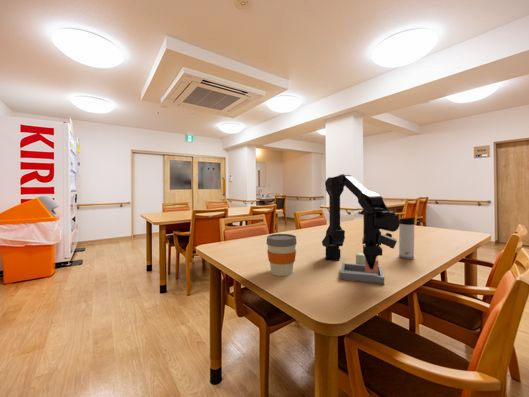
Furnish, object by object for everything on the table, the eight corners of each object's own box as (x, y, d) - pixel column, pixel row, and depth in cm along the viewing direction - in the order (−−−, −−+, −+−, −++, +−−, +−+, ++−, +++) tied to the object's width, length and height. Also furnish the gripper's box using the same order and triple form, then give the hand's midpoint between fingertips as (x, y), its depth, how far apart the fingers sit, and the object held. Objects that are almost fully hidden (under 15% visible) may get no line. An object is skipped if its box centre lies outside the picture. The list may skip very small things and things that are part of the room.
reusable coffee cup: (262, 269, 102) (261, 235, 102) (287, 265, 107) (287, 232, 107) (274, 279, 91) (274, 241, 90) (302, 274, 96) (302, 238, 95)
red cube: (365, 272, 91) (365, 259, 90) (365, 268, 95) (365, 256, 95) (378, 273, 89) (378, 260, 89) (377, 269, 93) (377, 257, 93)
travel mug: (409, 260, 112) (410, 218, 111) (396, 256, 118) (396, 216, 117) (417, 258, 115) (418, 217, 114) (404, 254, 121) (404, 215, 120)
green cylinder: (355, 266, 104) (355, 255, 104) (355, 263, 108) (355, 253, 108) (366, 268, 103) (366, 256, 102) (366, 264, 107) (366, 253, 106)
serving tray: (340, 279, 91) (340, 272, 90) (342, 268, 102) (342, 263, 102) (384, 284, 85) (384, 277, 85) (381, 273, 96) (381, 266, 96)
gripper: (399, 232, 79) (398, 278, 80) (391, 224, 97) (391, 262, 98) (363, 231, 84) (363, 274, 84) (362, 223, 101) (362, 259, 102)
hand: (371, 267), depth 92 cm, fingers closed on red cube, 4 cm apart
